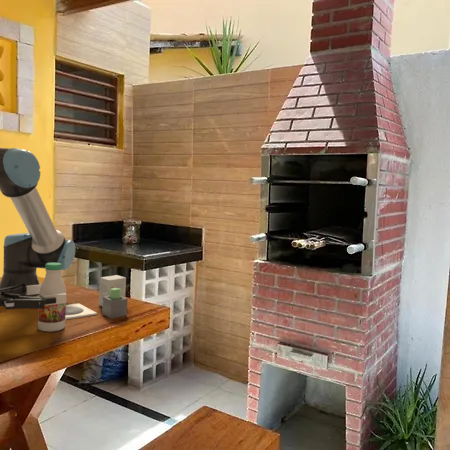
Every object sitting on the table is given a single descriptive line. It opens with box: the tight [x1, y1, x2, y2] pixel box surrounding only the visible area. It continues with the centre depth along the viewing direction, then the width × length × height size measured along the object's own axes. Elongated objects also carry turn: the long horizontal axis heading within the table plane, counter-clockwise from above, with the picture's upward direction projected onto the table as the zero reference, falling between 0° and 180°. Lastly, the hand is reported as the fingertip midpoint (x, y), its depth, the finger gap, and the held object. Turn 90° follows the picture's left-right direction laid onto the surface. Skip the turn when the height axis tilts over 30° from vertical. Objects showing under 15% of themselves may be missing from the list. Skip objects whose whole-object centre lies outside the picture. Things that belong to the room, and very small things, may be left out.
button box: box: [101, 296, 128, 319], centre depth 158 cm, size 6×6×6 cm
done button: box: [110, 288, 121, 300], centre depth 158 cm, size 4×4×5 cm
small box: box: [98, 274, 127, 308], centre depth 169 cm, size 8×6×10 cm
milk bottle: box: [37, 263, 67, 333], centre depth 140 cm, size 8×8×20 cm
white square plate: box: [65, 302, 98, 321], centre depth 157 cm, size 14×14×1 cm
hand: (56, 293), depth 140 cm, fingers open, 13 cm apart
